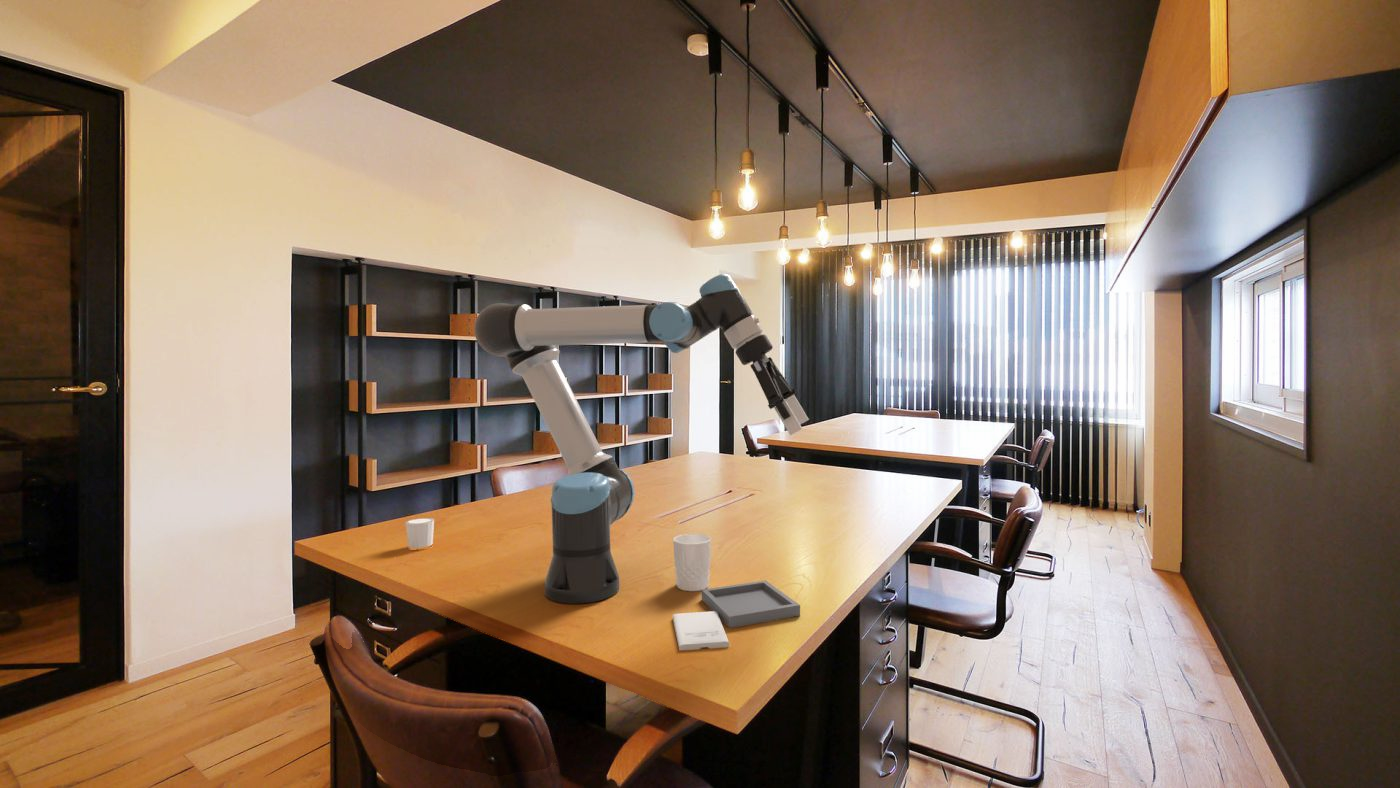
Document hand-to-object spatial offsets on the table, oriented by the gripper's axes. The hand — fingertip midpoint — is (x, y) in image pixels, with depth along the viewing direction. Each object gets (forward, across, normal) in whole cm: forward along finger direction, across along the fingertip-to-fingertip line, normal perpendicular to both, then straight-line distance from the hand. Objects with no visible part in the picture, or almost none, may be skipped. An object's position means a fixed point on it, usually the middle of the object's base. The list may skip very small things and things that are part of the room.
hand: (800, 427), depth 128 cm
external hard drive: (+21, -32, +28) cm, 47 cm away
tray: (+24, -19, +23) cm, 38 cm away
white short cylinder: (-21, -1, +101) cm, 103 cm away
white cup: (+17, -11, +35) cm, 40 cm away
